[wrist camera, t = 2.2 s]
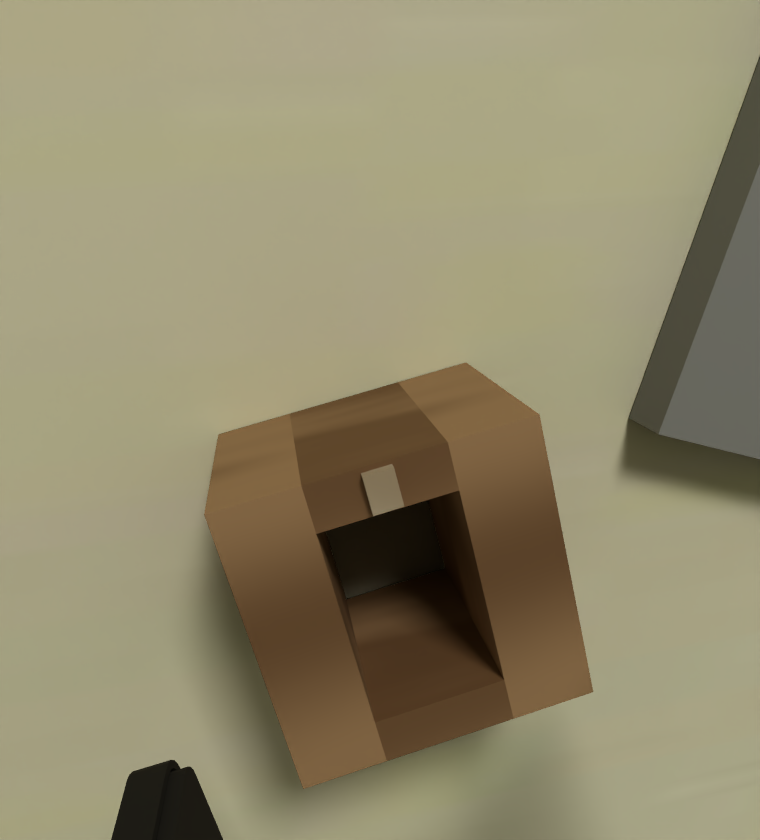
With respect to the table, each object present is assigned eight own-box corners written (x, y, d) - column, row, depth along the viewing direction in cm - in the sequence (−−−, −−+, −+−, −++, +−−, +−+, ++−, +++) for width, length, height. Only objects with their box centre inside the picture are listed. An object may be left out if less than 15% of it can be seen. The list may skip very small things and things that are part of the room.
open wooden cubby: (513, 579, 20) (597, 697, 15) (292, 650, 20) (303, 796, 15) (466, 362, 18) (543, 417, 13) (218, 434, 18) (203, 519, 13)
